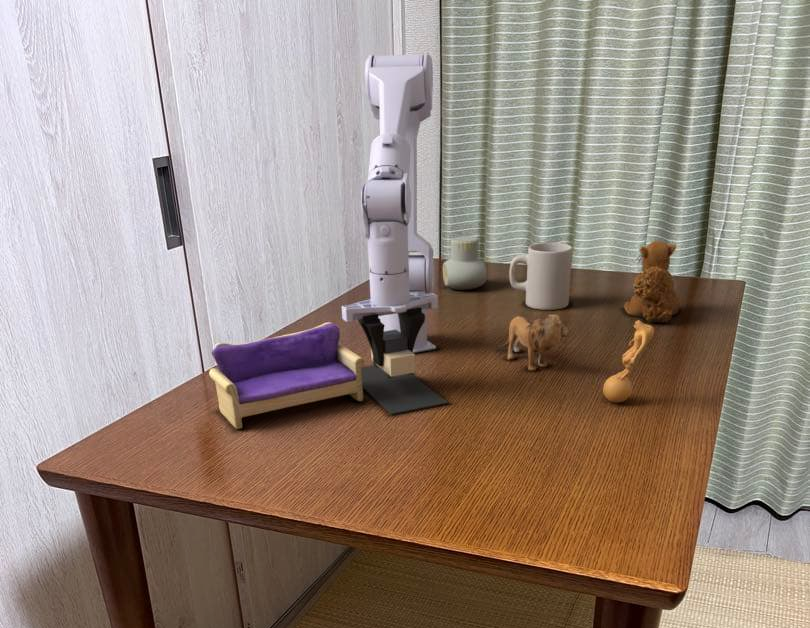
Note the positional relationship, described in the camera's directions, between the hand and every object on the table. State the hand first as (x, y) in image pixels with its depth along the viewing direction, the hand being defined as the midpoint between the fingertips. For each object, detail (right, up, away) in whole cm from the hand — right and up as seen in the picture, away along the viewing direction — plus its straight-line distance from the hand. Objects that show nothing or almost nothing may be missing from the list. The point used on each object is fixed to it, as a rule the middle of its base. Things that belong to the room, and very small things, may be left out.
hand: (392, 361), depth 123 cm
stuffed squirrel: (+49, +15, +29) cm, 59 cm away
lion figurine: (+23, +2, +10) cm, 25 cm away
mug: (+29, +20, +39) cm, 52 cm away
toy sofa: (-15, -8, -3) cm, 17 cm away
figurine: (+34, -7, -5) cm, 35 cm away
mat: (0, -4, +2) cm, 4 cm away
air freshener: (+15, +27, +52) cm, 60 cm away
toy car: (0, -1, +1) cm, 1 cm away
